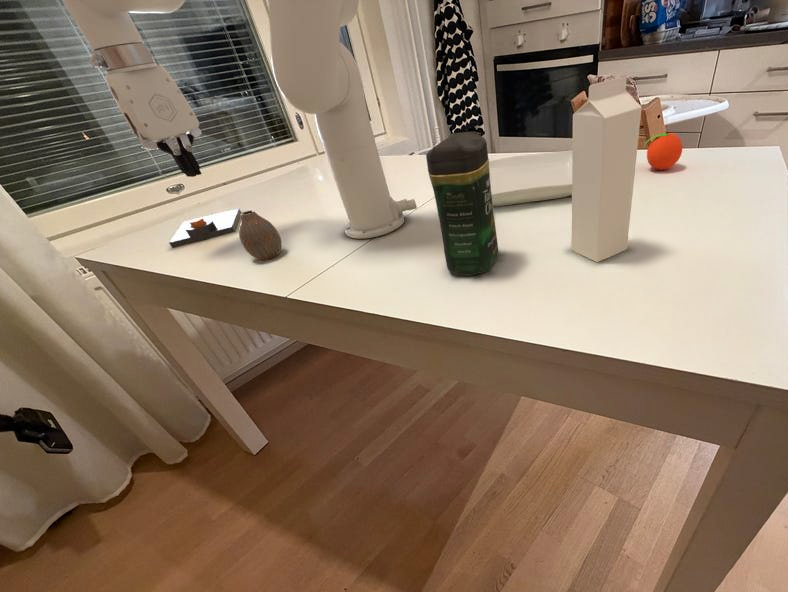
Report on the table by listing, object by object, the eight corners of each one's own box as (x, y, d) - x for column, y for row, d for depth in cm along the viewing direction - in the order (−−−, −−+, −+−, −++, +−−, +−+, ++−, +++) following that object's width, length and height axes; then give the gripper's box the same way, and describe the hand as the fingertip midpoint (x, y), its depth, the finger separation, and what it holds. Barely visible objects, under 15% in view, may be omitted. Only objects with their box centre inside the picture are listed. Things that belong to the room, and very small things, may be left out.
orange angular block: (207, 222, 94) (203, 216, 93) (205, 226, 92) (201, 220, 91) (194, 226, 94) (190, 219, 93) (191, 230, 92) (187, 223, 91)
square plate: (600, 199, 78) (601, 178, 75) (464, 217, 80) (461, 198, 78) (576, 163, 98) (577, 145, 96) (468, 178, 101) (466, 162, 99)
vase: (274, 263, 76) (250, 218, 70) (244, 264, 78) (219, 220, 72) (293, 247, 81) (273, 204, 75) (265, 248, 83) (243, 207, 77)
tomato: (641, 176, 85) (646, 139, 80) (637, 166, 90) (641, 131, 85) (682, 172, 83) (689, 134, 78) (675, 162, 88) (681, 126, 83)
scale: (241, 213, 106) (235, 202, 104) (235, 233, 94) (228, 220, 92) (186, 227, 103) (179, 215, 101) (172, 249, 91) (163, 236, 89)
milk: (626, 250, 60) (647, 75, 46) (596, 263, 59) (608, 85, 44) (599, 238, 65) (610, 75, 51) (569, 250, 63) (572, 84, 49)
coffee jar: (491, 277, 60) (473, 142, 48) (442, 277, 62) (413, 148, 50) (504, 249, 67) (491, 124, 55) (460, 250, 69) (438, 130, 57)
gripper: (86, 65, 60) (165, 189, 72) (181, 51, 69) (238, 163, 81) (69, 71, 64) (147, 187, 75) (161, 57, 73) (218, 163, 84)
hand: (194, 175), depth 78 cm, fingers closed
